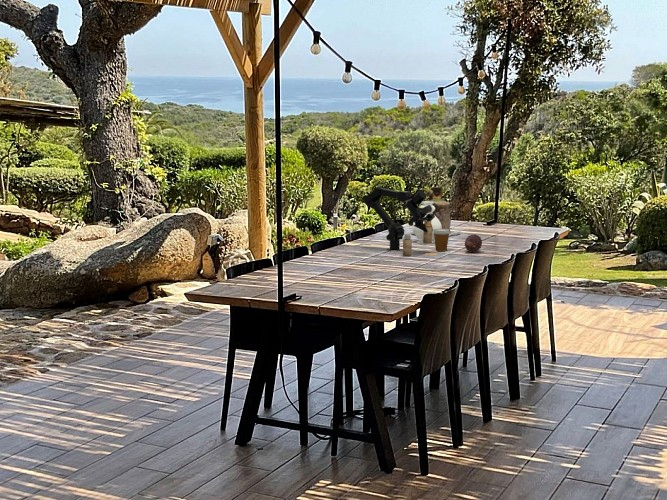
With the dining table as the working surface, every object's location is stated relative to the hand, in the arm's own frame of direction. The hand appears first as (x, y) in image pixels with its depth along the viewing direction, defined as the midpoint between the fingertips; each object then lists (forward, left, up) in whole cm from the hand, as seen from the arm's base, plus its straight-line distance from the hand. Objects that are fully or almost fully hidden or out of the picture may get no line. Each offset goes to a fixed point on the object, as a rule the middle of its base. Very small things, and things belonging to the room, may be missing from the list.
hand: (429, 231), depth 481 cm
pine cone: (+1, +28, -13) cm, 31 cm away
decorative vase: (-41, +22, -13) cm, 48 cm away
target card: (+2, -8, -13) cm, 16 cm away
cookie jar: (-69, +45, -13) cm, 84 cm away
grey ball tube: (+2, -15, -12) cm, 20 cm away
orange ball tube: (-1, -1, -7) cm, 7 cm away
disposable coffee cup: (-11, +14, -13) cm, 22 cm away
